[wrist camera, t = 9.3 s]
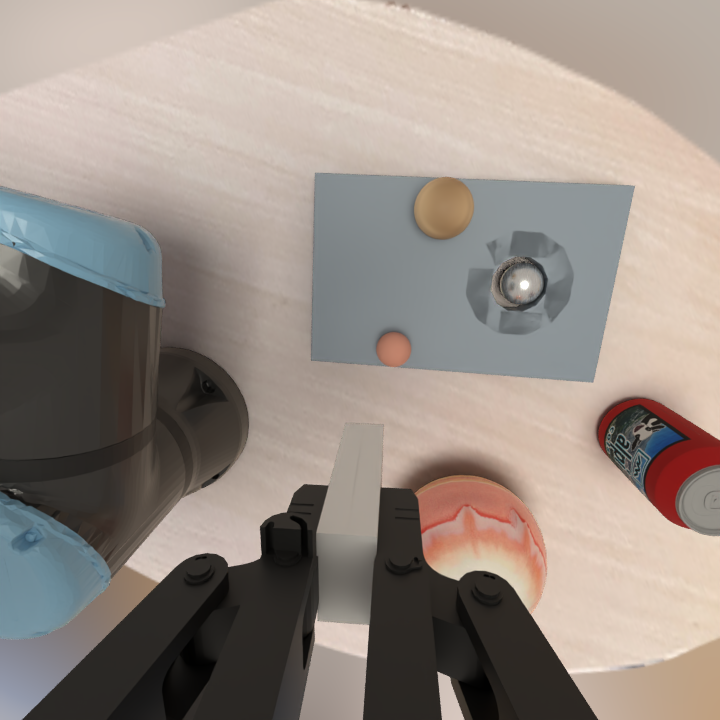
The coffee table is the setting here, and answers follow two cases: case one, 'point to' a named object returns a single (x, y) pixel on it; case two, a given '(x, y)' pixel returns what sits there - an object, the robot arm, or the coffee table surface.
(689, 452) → the beverage can
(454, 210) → the wooden ball
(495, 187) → the plate
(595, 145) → the coffee table surface
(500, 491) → the vase
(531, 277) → the steel ball
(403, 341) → the rubber ball
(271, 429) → the coffee table surface
